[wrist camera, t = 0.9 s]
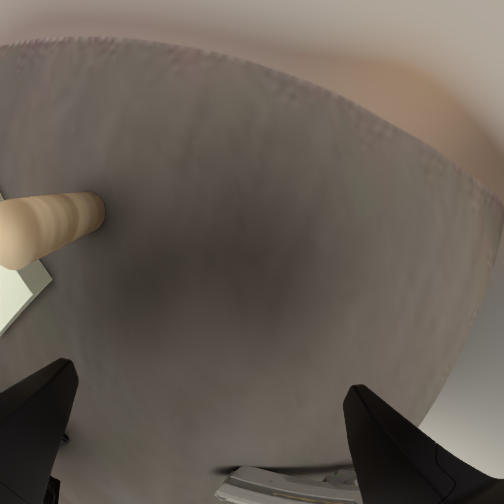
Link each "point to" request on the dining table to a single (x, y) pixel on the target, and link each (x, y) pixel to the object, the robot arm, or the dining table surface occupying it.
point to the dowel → (45, 225)
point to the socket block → (19, 289)
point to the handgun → (288, 488)
